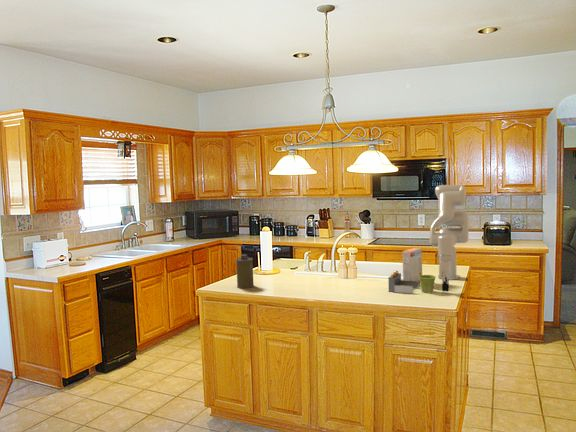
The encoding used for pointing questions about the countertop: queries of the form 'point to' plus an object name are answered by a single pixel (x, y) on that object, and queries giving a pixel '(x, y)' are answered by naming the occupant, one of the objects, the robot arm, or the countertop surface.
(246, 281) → the canister
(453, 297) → the countertop surface
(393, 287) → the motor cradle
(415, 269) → the cracker box
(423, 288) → the plant pot
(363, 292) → the countertop surface
